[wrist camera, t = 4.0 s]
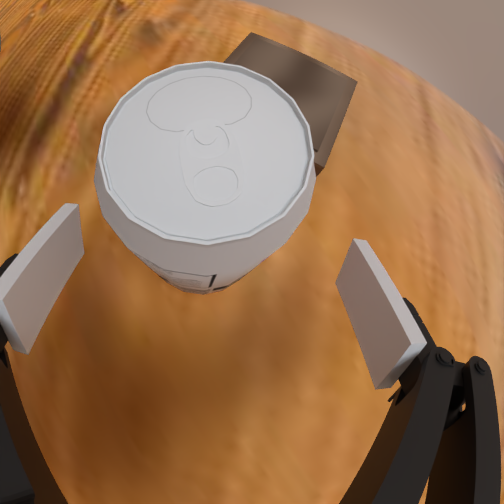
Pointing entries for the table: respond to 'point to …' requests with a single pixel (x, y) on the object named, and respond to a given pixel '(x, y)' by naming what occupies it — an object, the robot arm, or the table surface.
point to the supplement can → (205, 172)
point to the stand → (301, 87)
